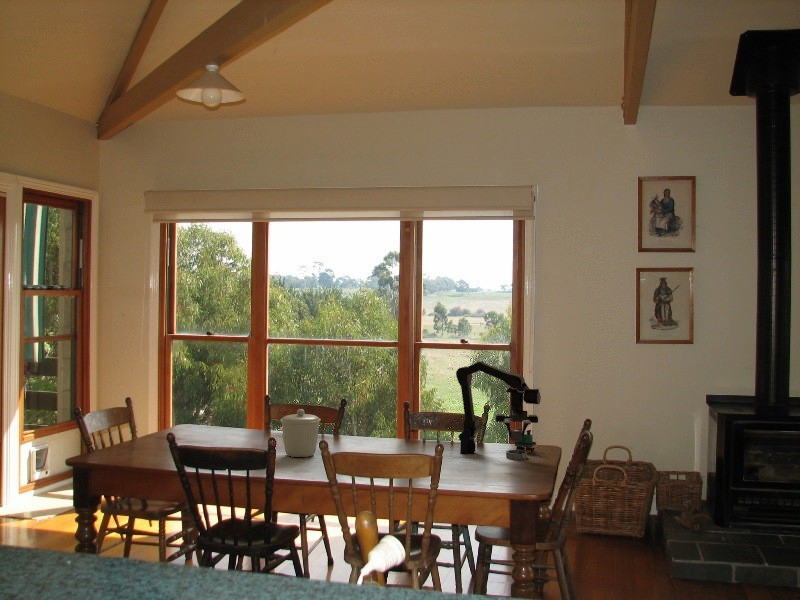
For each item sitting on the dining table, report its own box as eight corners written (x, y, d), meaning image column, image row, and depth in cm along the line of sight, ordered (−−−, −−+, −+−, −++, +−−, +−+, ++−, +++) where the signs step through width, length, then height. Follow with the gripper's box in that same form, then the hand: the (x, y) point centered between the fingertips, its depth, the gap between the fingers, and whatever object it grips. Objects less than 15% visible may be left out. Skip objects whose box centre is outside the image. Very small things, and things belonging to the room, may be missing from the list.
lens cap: (511, 440, 335) (511, 431, 335) (510, 438, 340) (510, 429, 340) (522, 441, 334) (522, 431, 334) (521, 438, 339) (521, 429, 339)
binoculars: (538, 429, 354) (531, 430, 345) (537, 451, 353) (530, 453, 345) (520, 427, 358) (513, 428, 350) (519, 449, 358) (512, 451, 349)
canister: (322, 451, 348) (322, 406, 348) (318, 460, 330) (318, 412, 329) (283, 451, 348) (283, 405, 348) (276, 460, 330) (277, 412, 330)
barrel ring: (506, 459, 333) (506, 453, 333) (505, 455, 342) (505, 449, 342) (527, 459, 332) (527, 454, 332) (525, 455, 341) (525, 450, 341)
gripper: (496, 405, 330) (496, 440, 330) (539, 406, 328) (539, 441, 328) (495, 401, 341) (495, 435, 341) (537, 402, 339) (536, 436, 339)
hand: (516, 437), depth 337 cm, fingers closed on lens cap, 5 cm apart
